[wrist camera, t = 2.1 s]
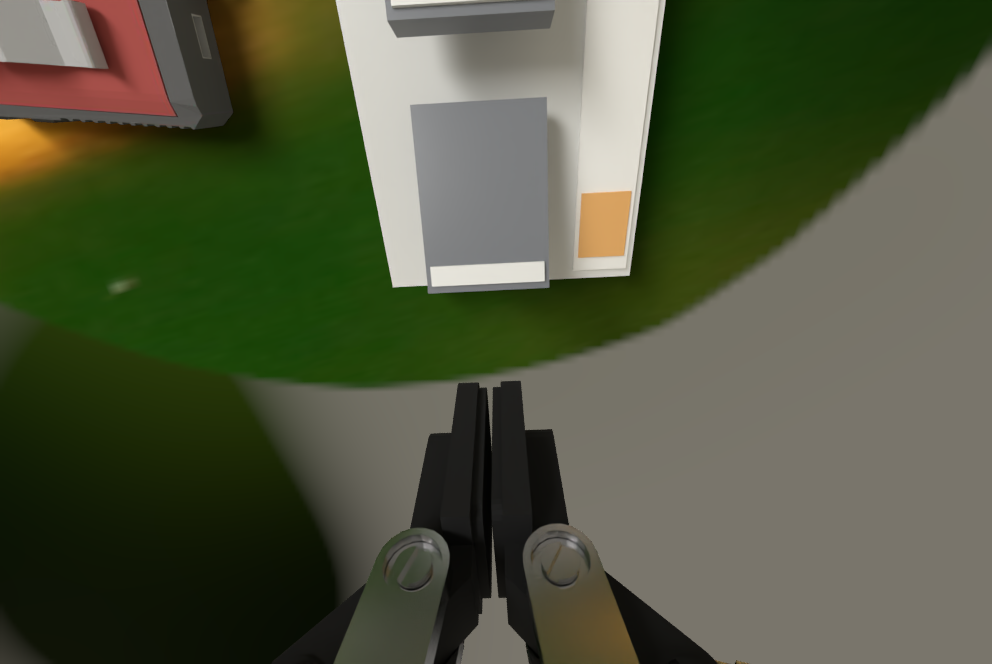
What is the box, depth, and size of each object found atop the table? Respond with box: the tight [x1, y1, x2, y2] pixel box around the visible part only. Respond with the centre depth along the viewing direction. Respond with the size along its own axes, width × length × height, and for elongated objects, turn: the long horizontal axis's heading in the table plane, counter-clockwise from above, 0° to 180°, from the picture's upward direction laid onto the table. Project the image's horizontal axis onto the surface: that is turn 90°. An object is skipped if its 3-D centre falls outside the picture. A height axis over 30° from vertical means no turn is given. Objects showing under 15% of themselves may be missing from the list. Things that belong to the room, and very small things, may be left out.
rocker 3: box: [410, 97, 549, 294], centre depth 16 cm, size 7×5×1 cm
